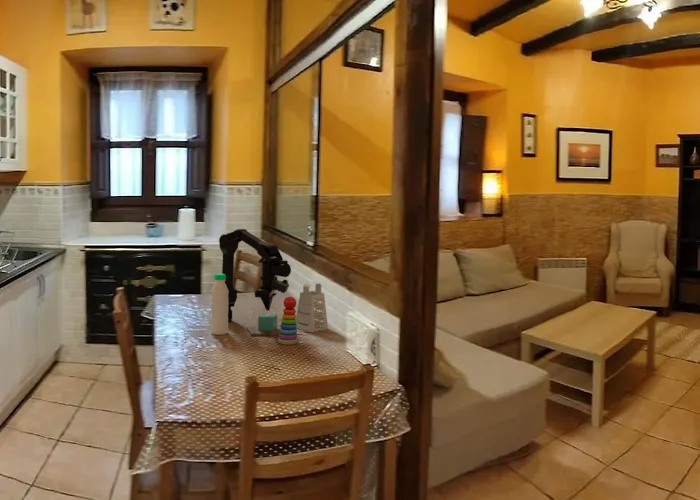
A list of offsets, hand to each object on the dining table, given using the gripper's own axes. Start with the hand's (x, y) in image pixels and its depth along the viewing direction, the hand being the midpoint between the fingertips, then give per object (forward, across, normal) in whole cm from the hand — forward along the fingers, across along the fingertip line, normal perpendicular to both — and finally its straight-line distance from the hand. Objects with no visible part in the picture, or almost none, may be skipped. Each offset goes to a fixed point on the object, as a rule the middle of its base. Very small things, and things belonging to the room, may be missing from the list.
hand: (267, 310), depth 265 cm
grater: (+10, +12, -16) cm, 22 cm away
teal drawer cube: (+8, 0, 0) cm, 8 cm away
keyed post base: (+9, 0, 0) cm, 9 cm away
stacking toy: (+9, -14, -13) cm, 22 cm away
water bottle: (+9, -8, +18) cm, 22 cm away
